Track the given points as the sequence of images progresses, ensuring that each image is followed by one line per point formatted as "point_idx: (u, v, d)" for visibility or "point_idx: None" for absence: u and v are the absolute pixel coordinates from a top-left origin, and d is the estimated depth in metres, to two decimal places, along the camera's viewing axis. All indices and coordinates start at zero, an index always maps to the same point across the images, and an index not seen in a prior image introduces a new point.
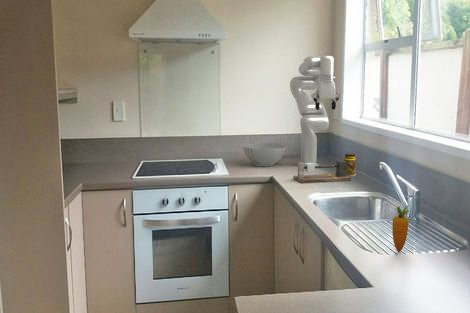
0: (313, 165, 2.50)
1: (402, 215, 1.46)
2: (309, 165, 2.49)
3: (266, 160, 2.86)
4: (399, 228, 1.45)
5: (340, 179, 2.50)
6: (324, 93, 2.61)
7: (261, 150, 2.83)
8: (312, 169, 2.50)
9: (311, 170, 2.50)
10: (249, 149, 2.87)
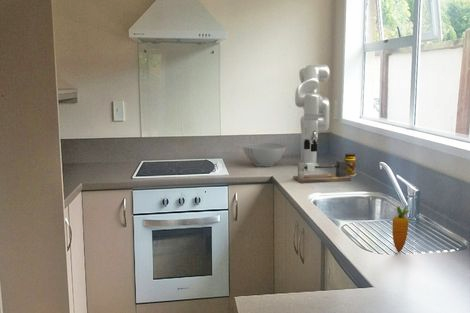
0: (313, 165, 2.50)
1: (402, 215, 1.46)
2: (309, 165, 2.49)
3: (266, 160, 2.86)
4: (399, 228, 1.45)
5: (340, 179, 2.50)
6: None
7: (261, 150, 2.83)
8: (312, 169, 2.50)
9: (311, 170, 2.50)
10: (249, 149, 2.87)
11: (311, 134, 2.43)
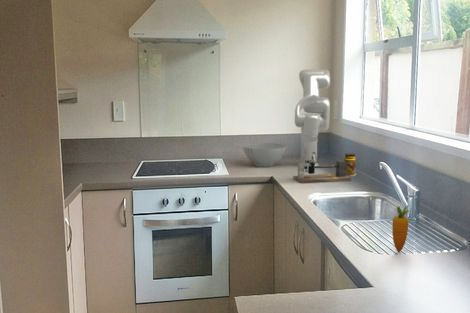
0: None
1: (402, 215, 1.46)
2: None
3: (266, 160, 2.86)
4: (399, 228, 1.45)
5: (340, 179, 2.50)
6: None
7: (261, 150, 2.83)
8: None
9: None
10: (249, 149, 2.87)
11: (310, 155, 2.45)
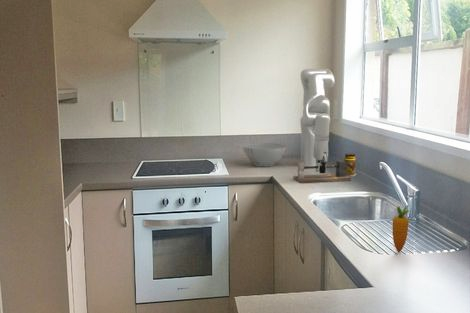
0: None
1: (402, 215, 1.46)
2: None
3: (266, 160, 2.86)
4: (399, 228, 1.45)
5: (340, 179, 2.50)
6: None
7: (261, 150, 2.83)
8: None
9: None
10: (249, 149, 2.87)
11: (322, 155, 2.46)
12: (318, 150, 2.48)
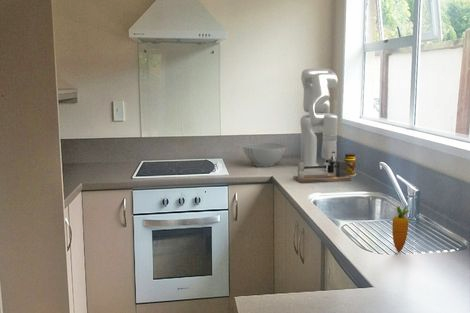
0: None
1: (402, 215, 1.46)
2: (328, 164, 2.51)
3: (266, 160, 2.86)
4: (399, 228, 1.45)
5: (340, 179, 2.50)
6: None
7: (261, 150, 2.83)
8: None
9: None
10: (249, 149, 2.87)
11: (330, 154, 2.47)
12: (326, 150, 2.49)
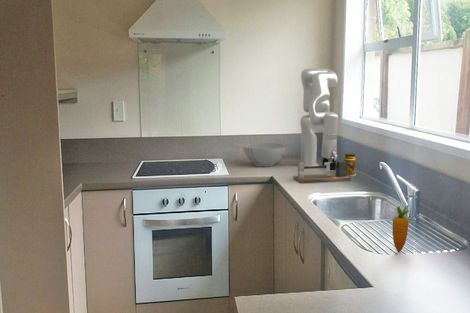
0: None
1: (402, 215, 1.46)
2: (329, 164, 2.51)
3: (266, 160, 2.86)
4: (399, 228, 1.45)
5: (340, 179, 2.50)
6: None
7: (261, 150, 2.83)
8: None
9: None
10: (249, 149, 2.87)
11: (330, 153, 2.48)
12: (326, 149, 2.49)
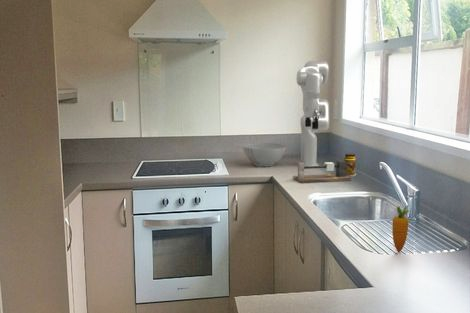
0: (332, 164, 2.52)
1: (402, 215, 1.46)
2: (329, 164, 2.51)
3: (266, 160, 2.86)
4: (399, 228, 1.45)
5: (340, 179, 2.50)
6: None
7: (261, 150, 2.83)
8: (331, 168, 2.52)
9: (330, 169, 2.52)
10: (249, 149, 2.87)
11: (312, 112, 2.51)
12: (309, 107, 2.53)
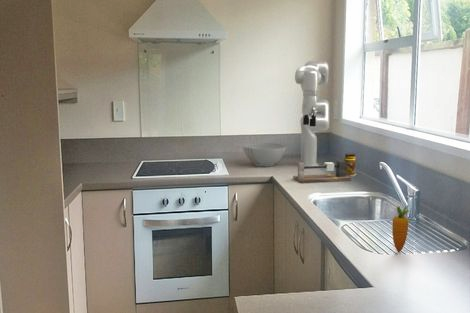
0: (332, 164, 2.52)
1: (402, 215, 1.46)
2: (329, 164, 2.51)
3: (266, 160, 2.86)
4: (399, 228, 1.45)
5: (340, 179, 2.50)
6: None
7: (261, 150, 2.83)
8: (331, 168, 2.52)
9: (330, 169, 2.52)
10: (249, 149, 2.87)
11: (310, 109, 2.52)
12: (306, 105, 2.53)
